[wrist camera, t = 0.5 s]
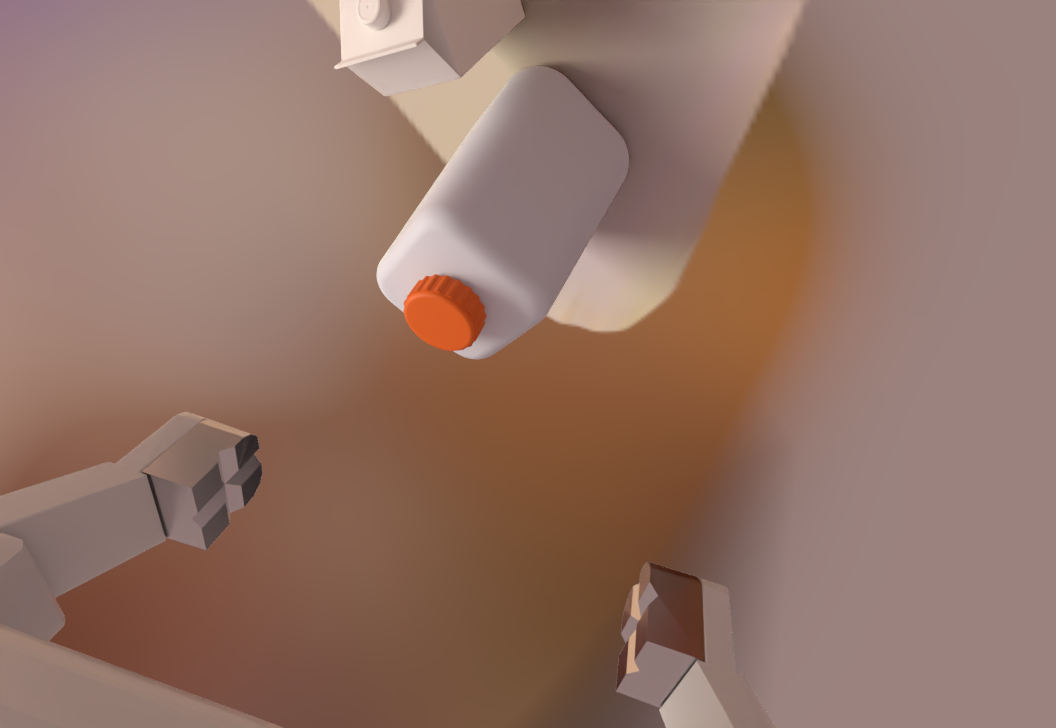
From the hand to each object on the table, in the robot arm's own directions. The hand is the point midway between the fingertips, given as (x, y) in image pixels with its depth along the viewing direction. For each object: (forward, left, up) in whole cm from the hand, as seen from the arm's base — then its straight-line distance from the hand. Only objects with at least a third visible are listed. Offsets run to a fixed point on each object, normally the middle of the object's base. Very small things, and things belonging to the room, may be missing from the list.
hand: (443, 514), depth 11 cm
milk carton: (+17, -10, -50) cm, 53 cm away
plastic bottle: (+21, +5, -50) cm, 54 cm away
